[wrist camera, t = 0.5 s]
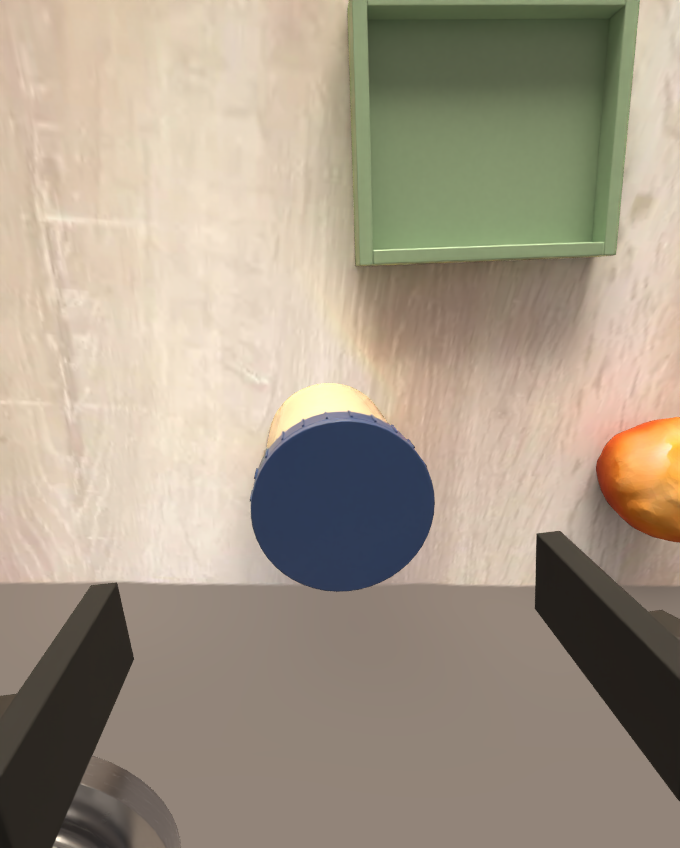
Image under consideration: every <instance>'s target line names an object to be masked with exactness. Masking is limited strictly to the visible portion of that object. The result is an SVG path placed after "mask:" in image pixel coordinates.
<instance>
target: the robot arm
mask: <svg viewBox="0 0 680 848" xmlns="http://www.w3.org/2000/svg"><path fill="white" fill-rule="evenodd" d="M535 609H536V611H537V612H538V613H539V615H540V616H541V617H542V619H543V620H544V621H545V623H546V624H547V625H548V627H549V628H550V629H551V630H552V632H553V633H554V635H555V636H556V637H557V639H558V640H559V641H560V643H561V644H562V645H563V647H564V648H565V649H566V651H567V652H568V653H569V655H570V656H571V657H572V659H573V660H574V661H575V663H576V664H577V665H578V667H579V668H580V669H581V671H582V672H583V673H584V675H585V676H586V677H587V679H588V680H589V681H590V683H591V684H592V685H593V687H594V688H595V689H596V691H597V692H598V693H599V695H600V696H601V697H602V699H603V700H604V701H605V703H606V704H607V705H608V707H609V708H610V709H611V711H612V712H613V714H614V715H615V716H616V718H617V719H618V720H619V721H620V723H621V724H622V726H623V727H624V728H625V729H626V731H627V732H628V733H629V735H630V736H631V737H632V739H633V740H634V741H635V743H636V744H637V746H638V747H639V748H640V749H641V751H642V752H643V753H644V755H645V756H646V758H647V759H648V760H649V762H651V764H652V766H653V767H654V768H655V770H656V771H657V772H658V773H659V775H660V776H661V778H662V779H663V780H664V782H665V783H666V784H667V785H668V787H669V788H670V790H671V791H672V792H673V794H674V795H675V796H676V798H677V799H678V800H679V801H680V619H678V618H676V617H674V616H673V615H671V614H668V613H667V612H665V611H663V610H658V611H650V612H648V611H647V610H646V609H644V608H643V607H642V606H641V605H640V604H639V603H638V602H637V601H636V600H635V599H634V598H633V597H631V596H630V595H629V594H628V593H627V592H626V591H625V590H624V589H623V588H622V587H621V586H619V585H618V584H617V583H616V582H615V581H614V580H613V579H612V578H611V577H610V576H609V575H607V574H606V573H605V572H604V571H603V570H602V569H601V568H600V567H599V566H598V565H597V564H595V563H594V562H593V561H592V560H591V559H590V558H589V557H588V556H587V555H586V554H585V553H583V552H582V551H581V550H580V549H579V548H578V547H577V546H576V545H575V544H574V543H573V542H571V541H570V540H569V539H568V538H567V537H566V536H565V535H564V534H563V533H562V532H561V531H555V532H546V533H538V534H537V542H536V586H535ZM133 660H134V657H133V652H132V648H131V643H130V639H129V635H128V630H127V626H126V621H125V616H124V612H123V607H122V603H121V598H120V594H119V589H118V585H117V583H108V584H99V585H91V586H90V588H89V589H88V591H87V592H86V594H85V595H84V597H83V598H82V600H81V601H80V603H79V604H78V605H77V607H76V608H75V610H74V611H73V613H72V614H71V616H70V617H69V619H68V620H67V622H66V623H65V624H64V626H63V627H62V629H61V630H60V632H59V634H58V635H57V636H56V638H55V639H54V641H53V642H52V644H51V645H50V647H49V648H48V649H47V651H46V652H45V654H44V655H43V657H42V658H41V660H40V661H39V663H38V664H37V665H36V667H35V668H34V670H33V671H32V673H31V674H30V676H29V677H28V679H27V680H26V681H25V683H24V685H23V686H22V687H21V689H20V690H19V692H18V693H17V694H12V695H4V696H0V848H109V847H108V846H107V845H106V844H105V843H104V842H103V841H102V840H100V839H99V838H97V837H96V836H95V835H93V834H91V833H90V832H88V831H86V830H84V829H82V828H80V827H78V826H75V825H72V824H70V823H67V822H64V819H65V817H66V815H67V812H68V810H69V808H70V805H71V803H72V801H73V799H74V796H75V794H76V792H77V789H78V787H79V785H80V782H81V780H82V778H83V775H84V773H85V771H86V769H87V766H88V764H89V762H90V759H91V757H92V755H93V752H94V750H95V748H96V745H97V743H98V741H99V738H100V736H101V734H102V732H103V729H104V727H105V725H106V722H107V720H108V718H109V715H110V713H111V711H112V709H113V706H114V704H115V702H116V699H117V697H118V695H119V692H120V690H121V688H122V685H123V683H124V681H125V678H126V676H127V674H128V672H129V669H130V667H131V665H132V662H133Z"/></svg>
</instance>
